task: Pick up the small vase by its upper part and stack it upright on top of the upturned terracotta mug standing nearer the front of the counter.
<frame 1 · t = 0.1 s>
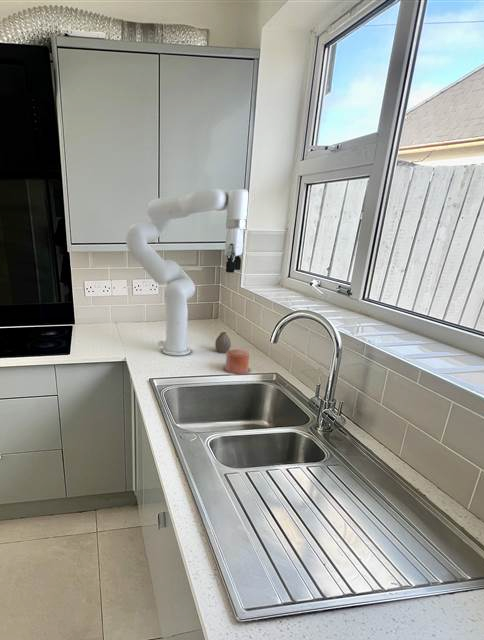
hand: (233, 271, 161), 37 cm above the countertop, tool pointing down, fingers open, 9 cm apart
upturned mug: (236, 369, 162), on the countertop
vase: (222, 351, 184), on the countertop
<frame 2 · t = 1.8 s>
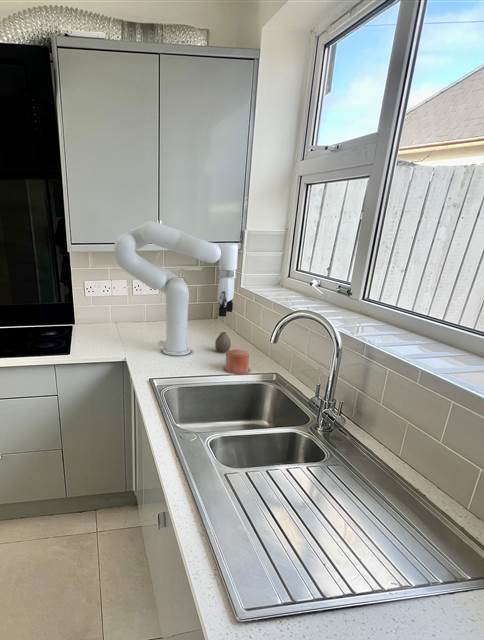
hand: (225, 313, 178), 17 cm above the countertop, tool pointing down, fingers open, 9 cm apart
nothing on the countertop moved.
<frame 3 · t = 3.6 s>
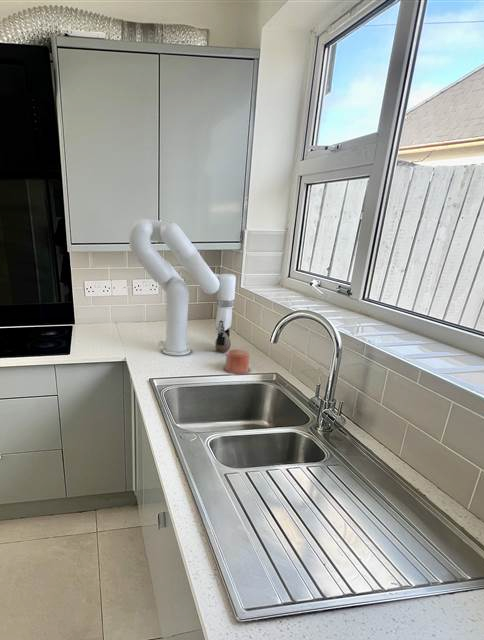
hand: (223, 342, 183), 4 cm above the countertop, tool pointing down, fingers closed on vase, 6 cm apart
vase: (222, 351, 184), on the countertop, touching gripper
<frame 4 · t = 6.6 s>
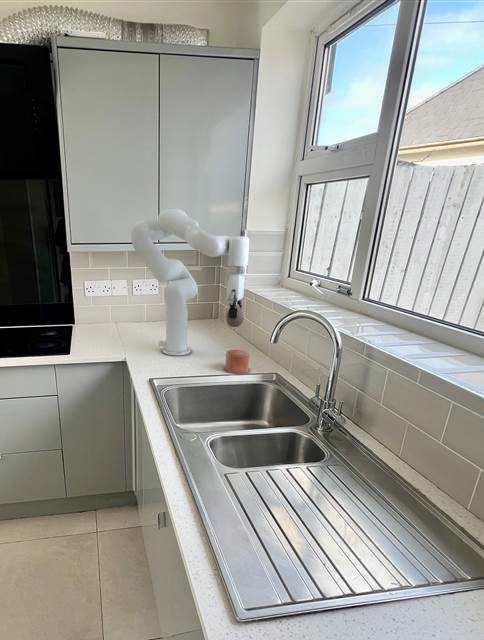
hand: (234, 315, 162), 20 cm above the countertop, tool pointing down, fingers closed on vase, 6 cm apart
vase: (234, 326, 164), point 16 cm above the countertop, touching gripper
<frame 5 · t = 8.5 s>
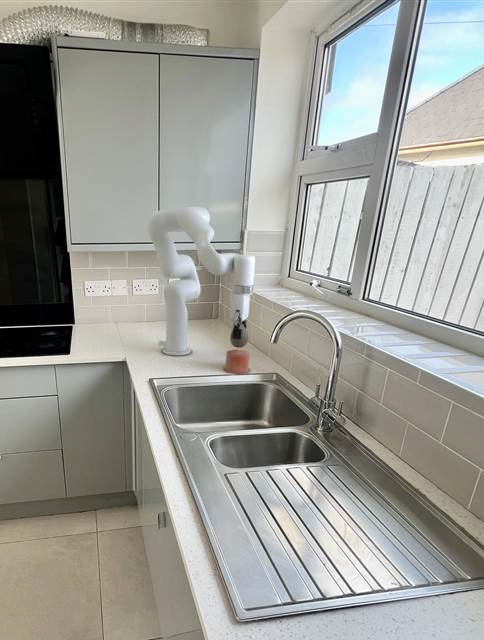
hand: (239, 335, 157), 14 cm above the countertop, tool pointing down, fingers closed on vase, 6 cm apart
vase: (238, 346, 158), point 10 cm above the countertop, touching gripper
when the fingers open (11 cm above the countertop, at t = 9.8 s): vase stays where it is, resting on upturned mug.
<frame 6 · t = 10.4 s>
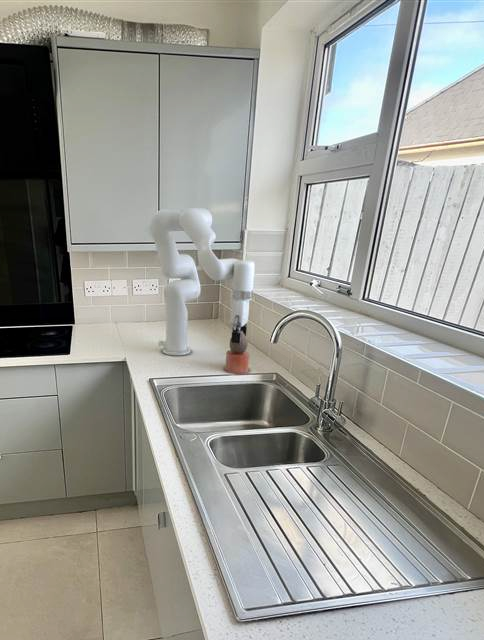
hand: (238, 339, 157), 12 cm above the countertop, tool pointing down, fingers open, 9 cm apart
vase: (237, 352, 159), point 7 cm above the countertop, touching upturned mug
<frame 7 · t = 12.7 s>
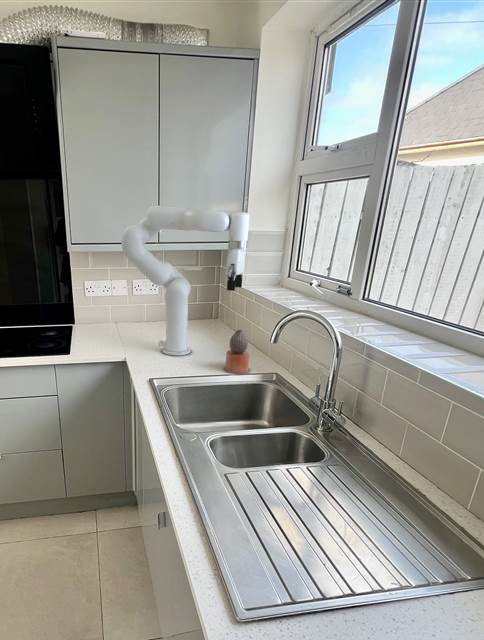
hand: (234, 288, 169), 29 cm above the countertop, tool pointing down, fingers open, 9 cm apart
nothing on the countertop moved.
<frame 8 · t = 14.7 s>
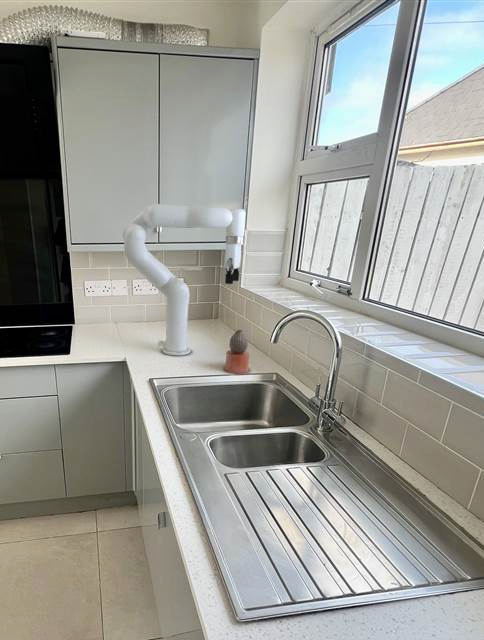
hand: (232, 282, 177), 30 cm above the countertop, tool pointing down, fingers open, 9 cm apart
nothing on the countertop moved.
at the end: vase 0.0 cm off-centre on the upturned mug, point 7.1 cm above the upturned mug's base; vase tilted 0°; the gripper is holding nothing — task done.
